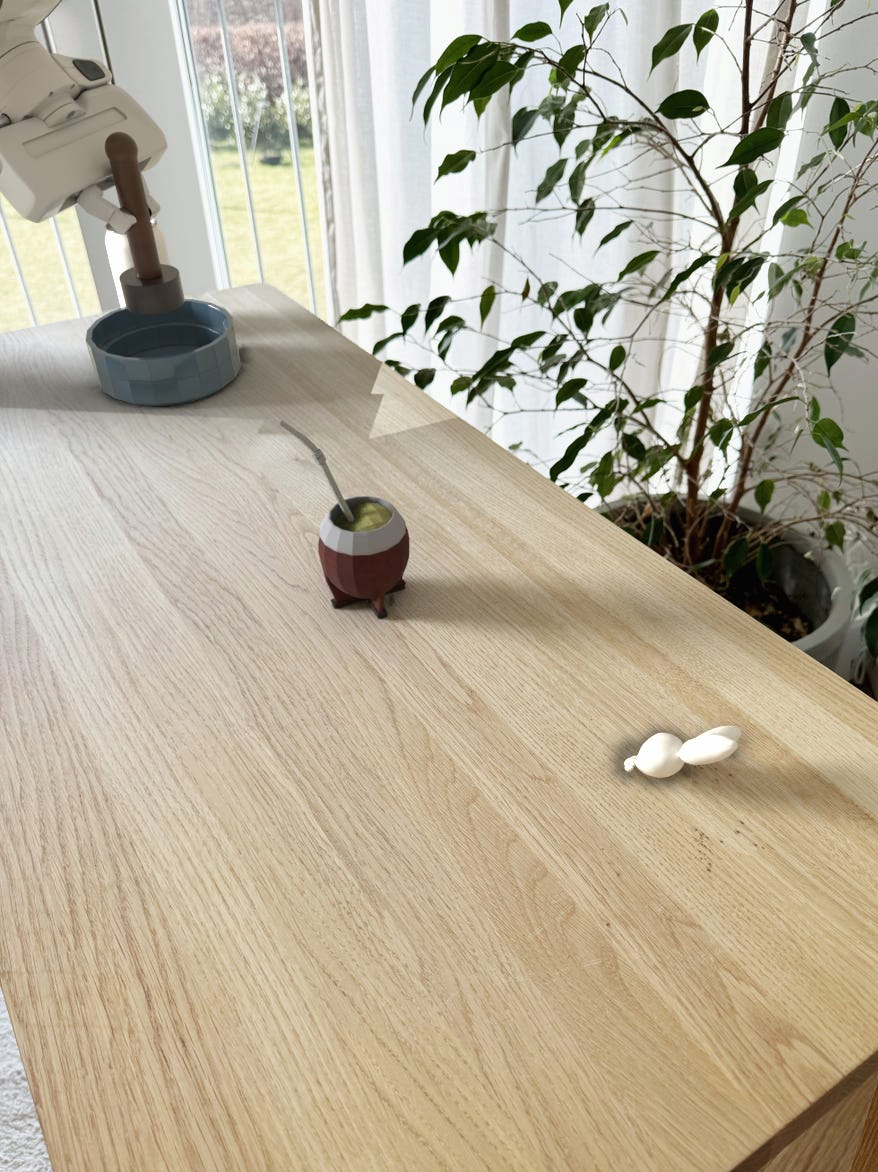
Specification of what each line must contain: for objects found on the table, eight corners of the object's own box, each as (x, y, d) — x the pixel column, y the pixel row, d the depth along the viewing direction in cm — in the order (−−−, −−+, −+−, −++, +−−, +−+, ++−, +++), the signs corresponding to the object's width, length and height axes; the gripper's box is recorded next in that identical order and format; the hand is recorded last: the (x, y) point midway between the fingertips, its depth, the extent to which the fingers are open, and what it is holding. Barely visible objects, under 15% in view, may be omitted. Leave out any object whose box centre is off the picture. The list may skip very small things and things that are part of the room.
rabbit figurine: (626, 735, 70) (739, 705, 67) (644, 788, 70) (757, 761, 67) (608, 754, 64) (730, 723, 62) (626, 812, 64) (749, 783, 62)
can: (116, 335, 118) (89, 231, 110) (142, 312, 123) (119, 211, 115) (166, 341, 117) (143, 236, 109) (191, 318, 121) (171, 216, 114)
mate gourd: (425, 608, 80) (417, 444, 70) (332, 636, 78) (310, 470, 68) (391, 558, 85) (379, 397, 75) (302, 583, 83) (277, 420, 73)
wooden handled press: (117, 314, 103) (74, 140, 92) (137, 290, 108) (98, 122, 97) (174, 316, 103) (137, 142, 92) (192, 292, 107) (159, 124, 96)
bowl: (77, 406, 105) (62, 357, 102) (128, 342, 117) (117, 296, 113) (218, 412, 104) (209, 363, 100) (256, 347, 115) (249, 301, 112)
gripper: (-35, 107, 86) (88, 237, 90) (112, 57, 101) (213, 171, 104) (-57, 157, 90) (61, 279, 94) (86, 102, 105) (185, 210, 109)
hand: (142, 222), depth 100 cm, fingers closed on wooden handled press, 2 cm apart
